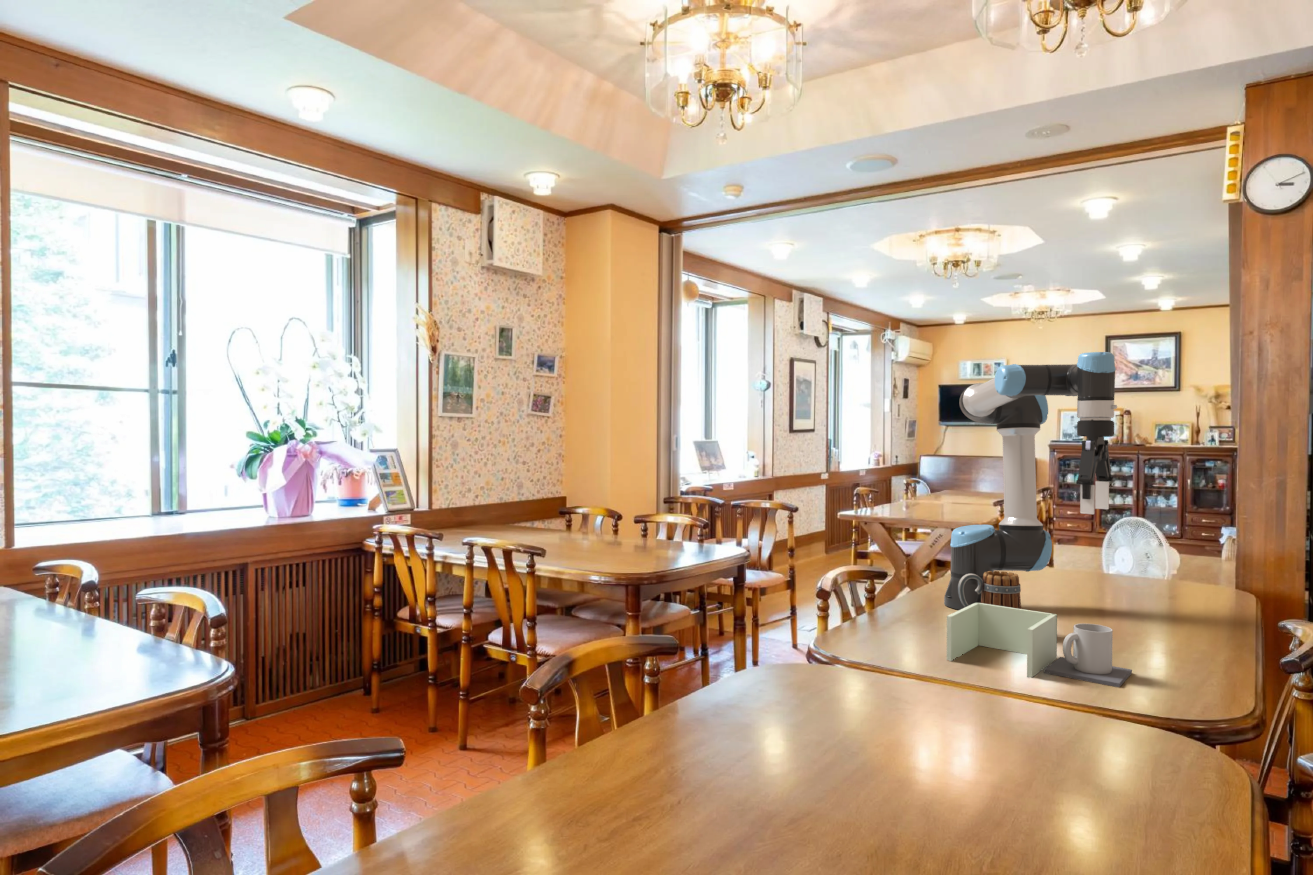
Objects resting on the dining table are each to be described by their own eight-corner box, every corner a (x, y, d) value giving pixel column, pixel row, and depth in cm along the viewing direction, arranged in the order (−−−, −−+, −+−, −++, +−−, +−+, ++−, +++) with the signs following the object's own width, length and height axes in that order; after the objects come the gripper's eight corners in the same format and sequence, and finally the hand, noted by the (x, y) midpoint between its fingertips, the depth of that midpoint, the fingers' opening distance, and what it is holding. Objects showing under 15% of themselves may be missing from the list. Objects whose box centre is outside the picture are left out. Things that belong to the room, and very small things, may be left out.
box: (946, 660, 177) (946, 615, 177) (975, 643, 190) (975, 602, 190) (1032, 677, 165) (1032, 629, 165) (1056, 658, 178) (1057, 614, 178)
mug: (1014, 627, 205) (1015, 570, 205) (1029, 638, 195) (1030, 578, 195) (952, 626, 207) (953, 569, 207) (964, 637, 196) (964, 577, 196)
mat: (1044, 672, 168) (1044, 669, 168) (1060, 660, 177) (1060, 656, 177) (1119, 687, 159) (1119, 683, 159) (1131, 673, 168) (1131, 669, 168)
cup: (1119, 674, 164) (1120, 632, 164) (1072, 675, 164) (1072, 632, 164) (1099, 664, 171) (1099, 623, 171) (1053, 664, 171) (1054, 623, 171)
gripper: (1100, 419, 171) (1099, 517, 171) (1126, 419, 189) (1125, 508, 190) (1062, 419, 176) (1062, 514, 176) (1091, 419, 194) (1090, 505, 195)
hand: (1094, 511), depth 183 cm, fingers open, 13 cm apart
